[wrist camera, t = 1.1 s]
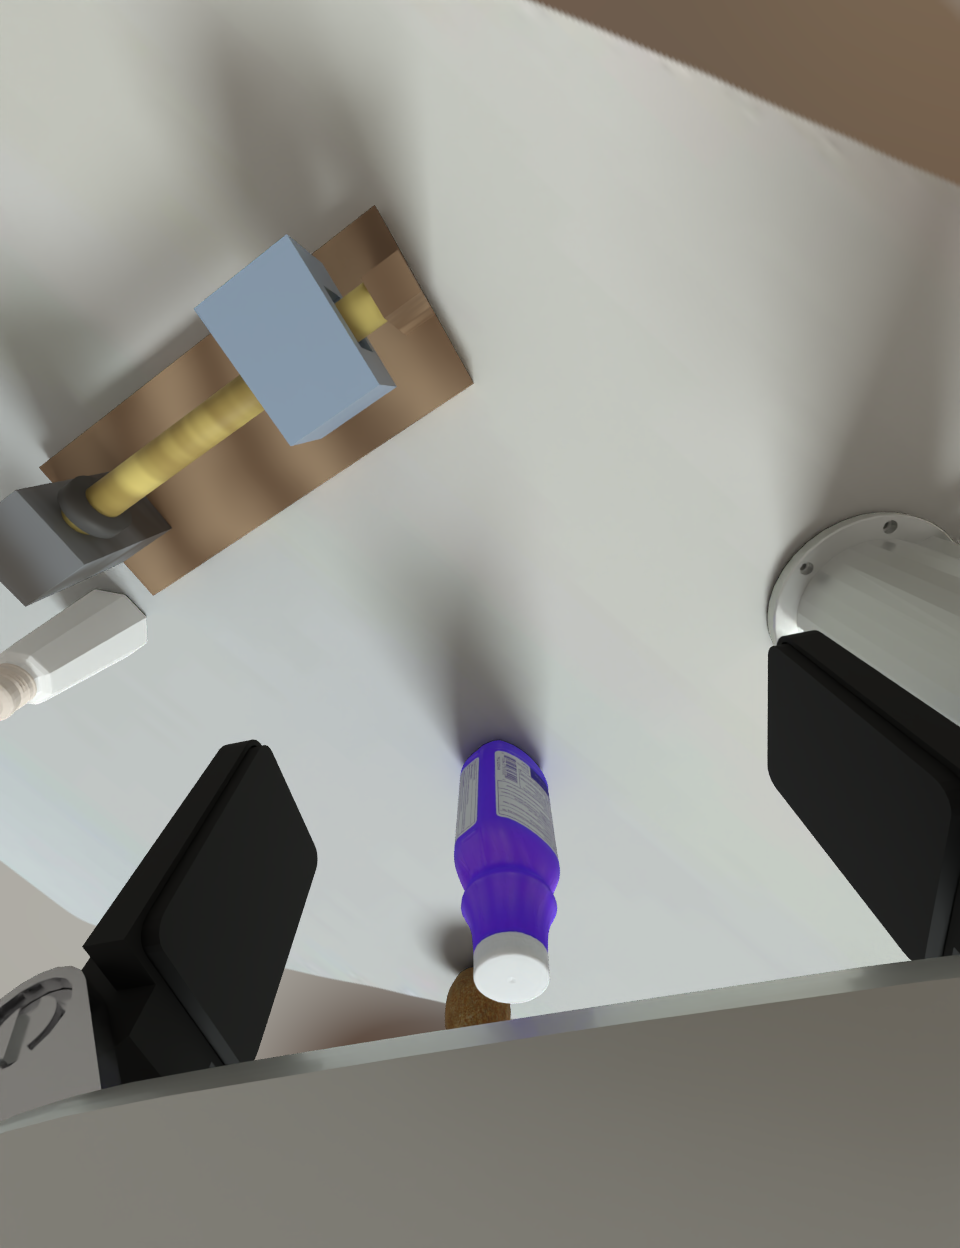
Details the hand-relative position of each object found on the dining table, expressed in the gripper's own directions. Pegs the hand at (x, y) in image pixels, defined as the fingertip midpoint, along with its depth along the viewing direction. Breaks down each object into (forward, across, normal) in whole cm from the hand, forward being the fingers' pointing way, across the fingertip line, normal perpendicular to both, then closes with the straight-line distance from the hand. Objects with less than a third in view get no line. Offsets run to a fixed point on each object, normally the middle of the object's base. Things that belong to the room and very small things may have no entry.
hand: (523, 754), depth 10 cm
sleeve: (+23, +7, -10) cm, 25 cm away
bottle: (+28, +3, +22) cm, 35 cm away
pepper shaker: (+28, +28, +3) cm, 40 cm away
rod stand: (+28, +13, -7) cm, 32 cm away
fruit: (+27, +10, +46) cm, 55 cm away
